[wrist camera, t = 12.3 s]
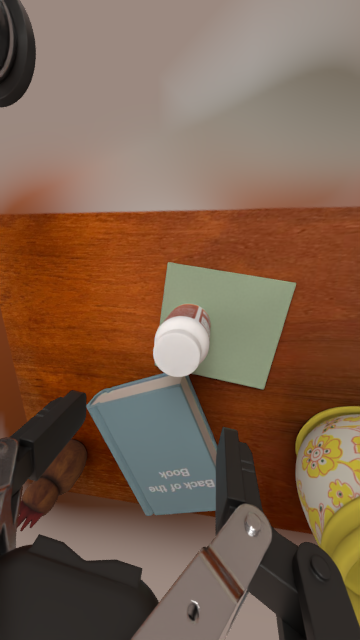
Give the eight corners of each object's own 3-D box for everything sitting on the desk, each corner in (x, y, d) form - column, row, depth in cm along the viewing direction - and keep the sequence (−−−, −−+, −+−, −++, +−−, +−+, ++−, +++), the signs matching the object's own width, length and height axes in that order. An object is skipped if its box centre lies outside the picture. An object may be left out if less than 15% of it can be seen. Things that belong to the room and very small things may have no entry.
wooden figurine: (57, 441, 43) (-23, 531, 29) (74, 429, 41) (-1, 518, 27) (79, 464, 44) (13, 564, 29) (98, 453, 42) (36, 553, 28)
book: (230, 477, 38) (232, 509, 33) (150, 486, 42) (141, 516, 37) (185, 367, 33) (179, 386, 28) (99, 390, 37) (82, 410, 32)
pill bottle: (161, 329, 32) (134, 363, 22) (181, 294, 30) (162, 313, 20) (197, 350, 32) (187, 395, 22) (219, 317, 30) (220, 347, 20)
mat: (168, 262, 30) (167, 262, 29) (294, 282, 28) (296, 283, 27) (155, 363, 35) (154, 365, 34) (262, 387, 33) (263, 389, 32)
